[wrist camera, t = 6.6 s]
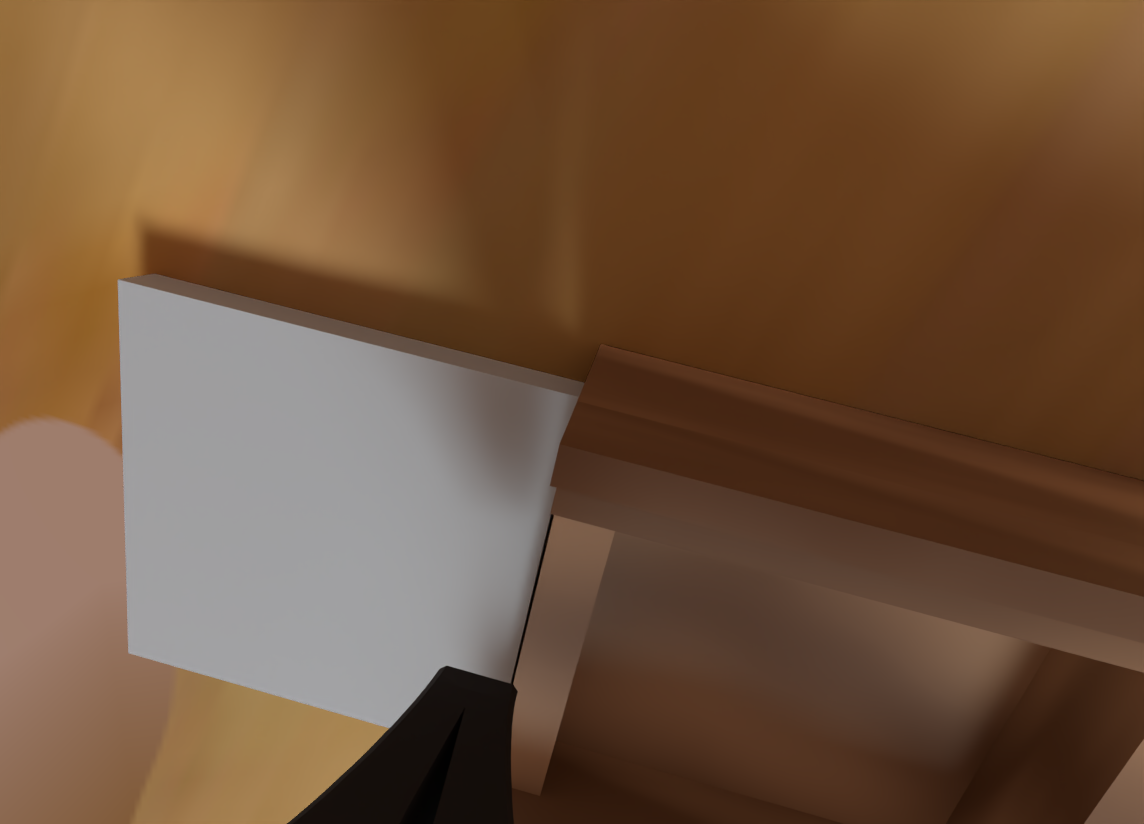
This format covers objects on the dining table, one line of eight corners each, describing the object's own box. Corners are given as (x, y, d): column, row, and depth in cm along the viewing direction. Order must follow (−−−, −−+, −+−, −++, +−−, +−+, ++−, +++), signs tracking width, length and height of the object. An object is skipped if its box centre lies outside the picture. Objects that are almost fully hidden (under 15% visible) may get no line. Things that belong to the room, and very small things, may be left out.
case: (932, 883, 17) (1060, 1209, 12) (499, 758, 18) (426, 1011, 12) (1177, 489, 13) (1555, 704, 7) (600, 343, 13) (560, 444, 8)
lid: (506, 712, 18) (492, 757, 16) (169, 617, 18) (128, 652, 17) (586, 377, 14) (578, 397, 13) (169, 271, 15) (117, 279, 13)
